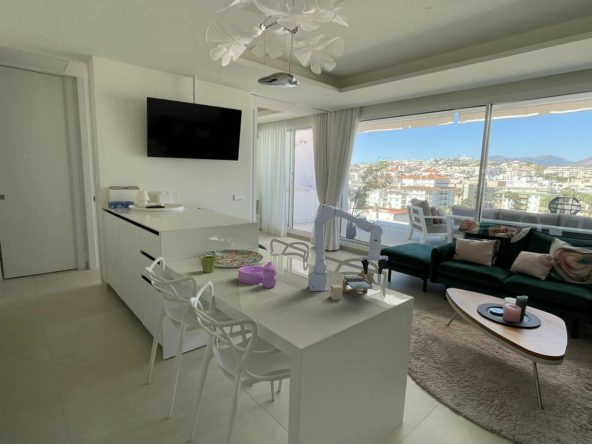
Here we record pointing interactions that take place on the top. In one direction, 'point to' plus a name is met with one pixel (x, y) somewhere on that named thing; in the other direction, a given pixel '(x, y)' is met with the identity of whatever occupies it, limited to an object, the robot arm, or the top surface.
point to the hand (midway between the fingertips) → (372, 274)
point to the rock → (367, 277)
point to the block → (336, 292)
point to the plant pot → (208, 263)
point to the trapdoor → (357, 285)
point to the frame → (353, 289)
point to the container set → (258, 275)
